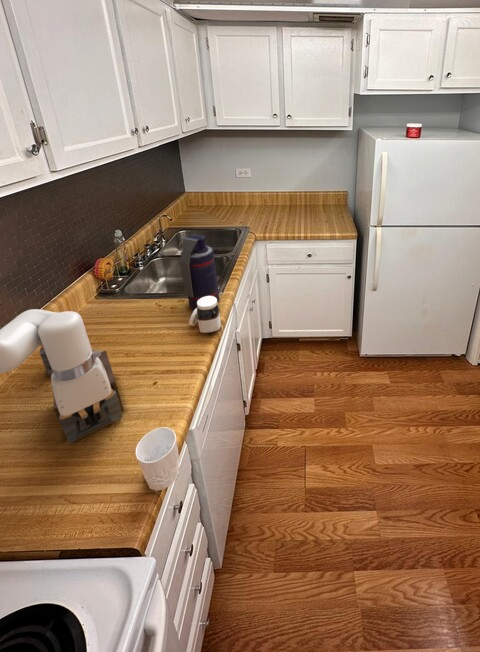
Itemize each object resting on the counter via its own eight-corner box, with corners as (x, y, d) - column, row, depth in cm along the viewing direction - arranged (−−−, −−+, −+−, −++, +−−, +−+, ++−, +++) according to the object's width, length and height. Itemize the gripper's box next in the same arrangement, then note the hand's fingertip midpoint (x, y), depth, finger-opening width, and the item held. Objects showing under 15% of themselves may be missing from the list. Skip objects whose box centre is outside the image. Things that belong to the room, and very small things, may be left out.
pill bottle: (75, 366, 104) (65, 337, 100) (54, 379, 99) (42, 349, 95) (64, 359, 106) (54, 331, 102) (43, 372, 102) (32, 343, 97)
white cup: (160, 501, 69) (151, 470, 66) (136, 481, 73) (127, 450, 69) (190, 467, 76) (183, 437, 72) (167, 451, 79) (160, 421, 75)
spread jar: (221, 335, 118) (217, 307, 114) (187, 340, 115) (182, 312, 111) (221, 315, 129) (218, 289, 124) (191, 319, 126) (186, 293, 122)
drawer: (127, 430, 83) (119, 406, 80) (71, 460, 76) (60, 434, 73) (113, 384, 96) (106, 362, 93) (64, 406, 89) (55, 382, 86)
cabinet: (124, 410, 89) (115, 381, 85) (66, 439, 82) (54, 408, 78) (113, 377, 100) (105, 350, 96) (61, 399, 92) (50, 371, 89)
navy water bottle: (202, 293, 143) (193, 228, 132) (225, 299, 139) (217, 233, 128) (179, 311, 131) (167, 241, 120) (203, 317, 127) (193, 247, 116)
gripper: (109, 341, 80) (125, 397, 87) (31, 370, 72) (55, 430, 78) (115, 358, 75) (132, 416, 82) (31, 393, 66) (57, 455, 73)
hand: (94, 423), depth 80 cm, fingers closed
